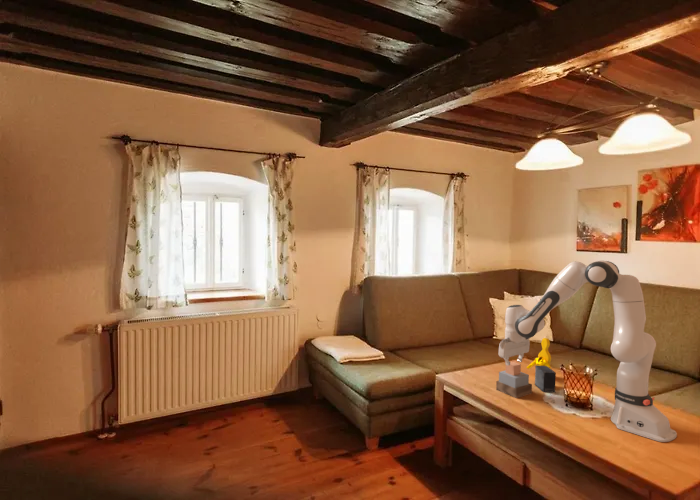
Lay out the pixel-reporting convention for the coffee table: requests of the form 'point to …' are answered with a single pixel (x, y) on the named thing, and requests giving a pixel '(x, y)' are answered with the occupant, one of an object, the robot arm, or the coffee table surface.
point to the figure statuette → (542, 355)
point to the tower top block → (514, 379)
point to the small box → (545, 378)
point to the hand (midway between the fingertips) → (513, 363)
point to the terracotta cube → (513, 368)
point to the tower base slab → (514, 389)
